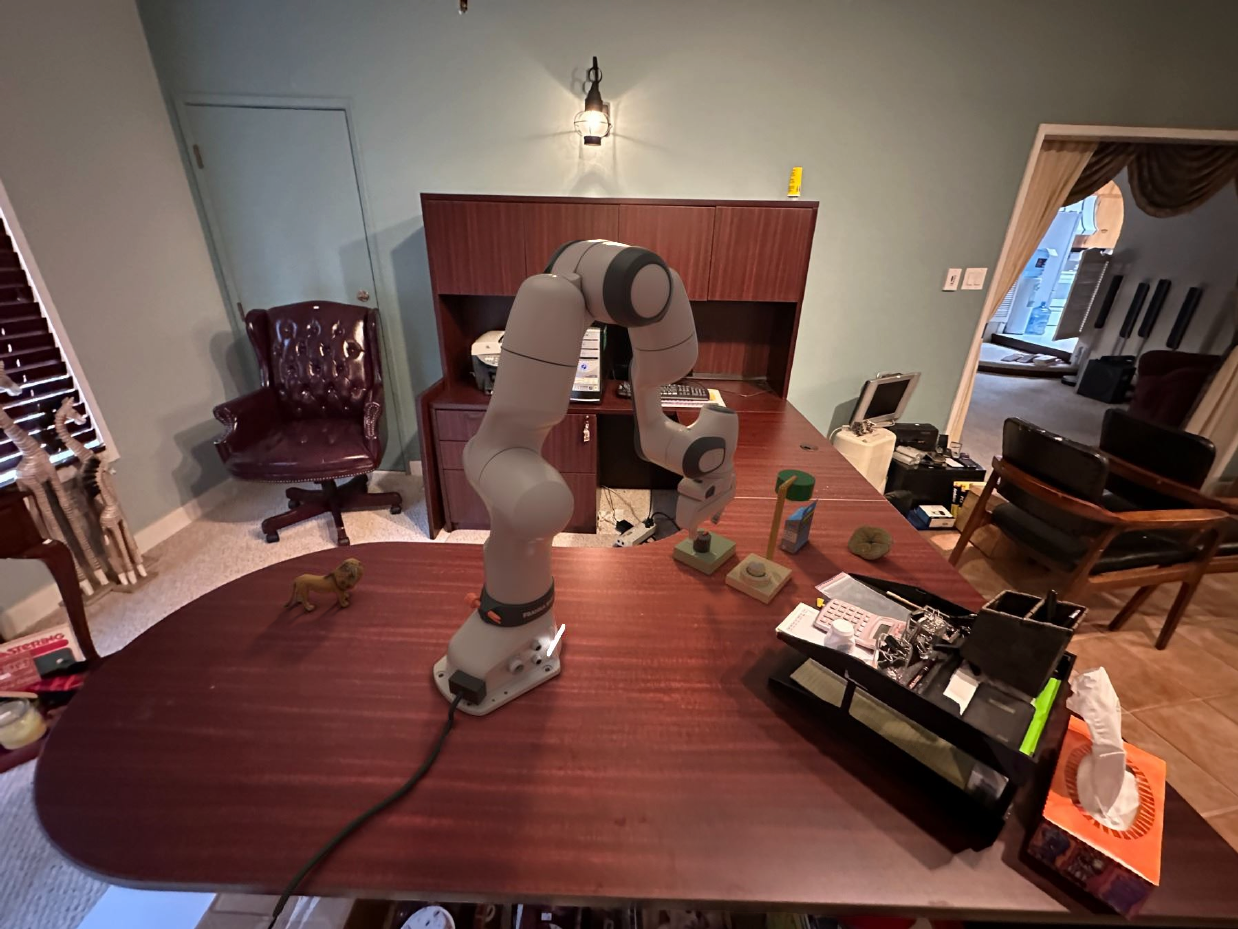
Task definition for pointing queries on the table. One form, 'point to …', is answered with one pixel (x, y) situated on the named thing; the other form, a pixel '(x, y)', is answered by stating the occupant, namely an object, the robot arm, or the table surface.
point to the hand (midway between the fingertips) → (704, 530)
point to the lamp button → (756, 569)
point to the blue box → (797, 528)
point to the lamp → (788, 498)
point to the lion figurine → (328, 583)
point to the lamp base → (759, 578)
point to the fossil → (870, 542)
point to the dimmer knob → (702, 542)
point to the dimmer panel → (705, 561)
